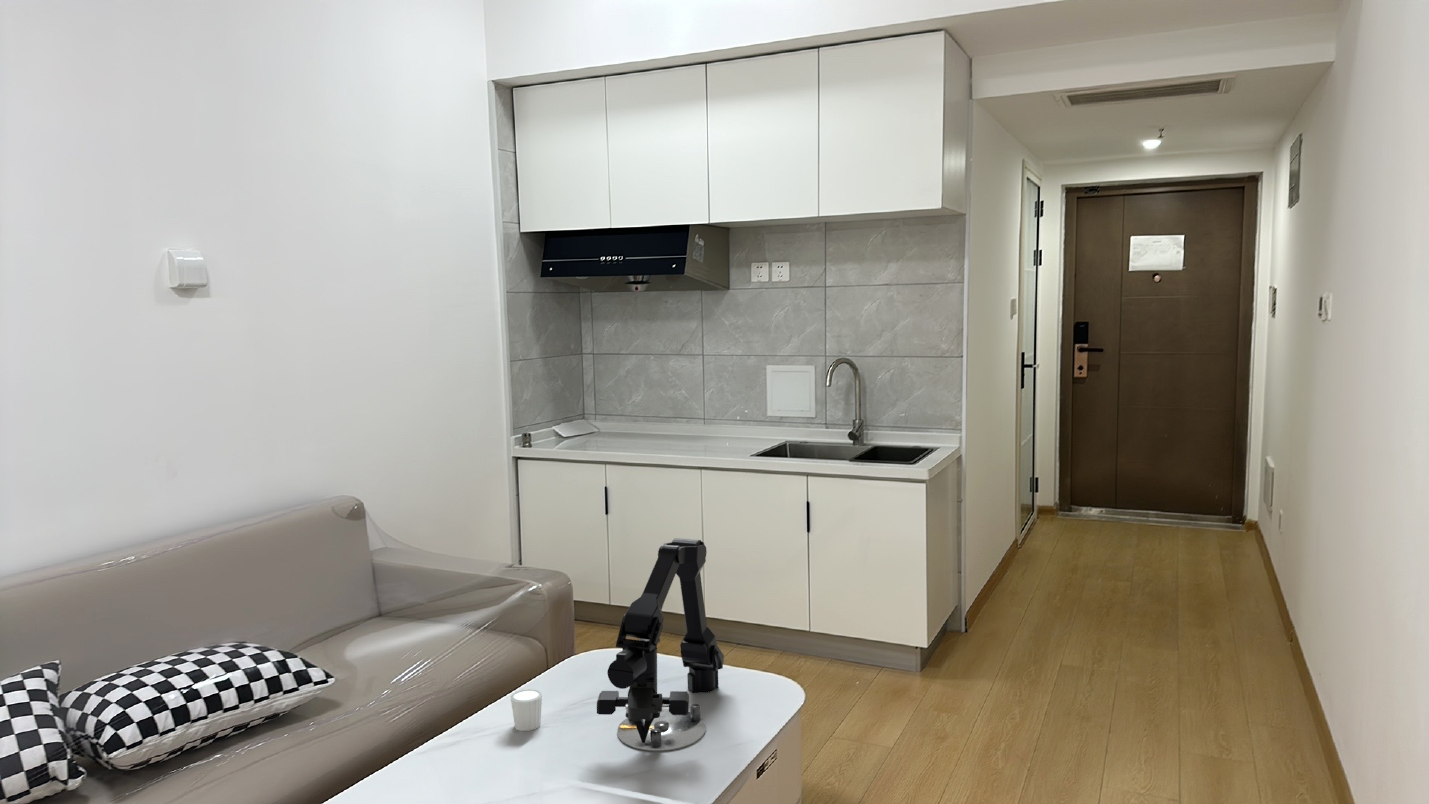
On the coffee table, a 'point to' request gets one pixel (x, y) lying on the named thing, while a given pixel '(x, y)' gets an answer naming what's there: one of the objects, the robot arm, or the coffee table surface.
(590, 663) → the coffee table surface
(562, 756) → the coffee table surface
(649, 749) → the capstan dial
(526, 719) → the shot glass
